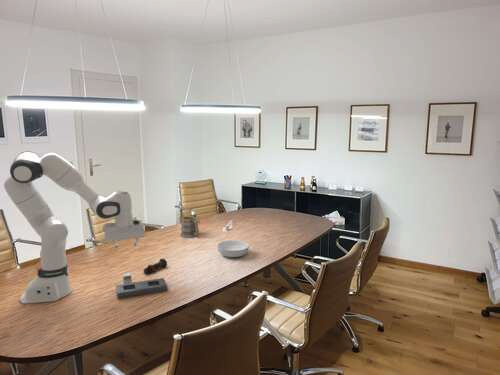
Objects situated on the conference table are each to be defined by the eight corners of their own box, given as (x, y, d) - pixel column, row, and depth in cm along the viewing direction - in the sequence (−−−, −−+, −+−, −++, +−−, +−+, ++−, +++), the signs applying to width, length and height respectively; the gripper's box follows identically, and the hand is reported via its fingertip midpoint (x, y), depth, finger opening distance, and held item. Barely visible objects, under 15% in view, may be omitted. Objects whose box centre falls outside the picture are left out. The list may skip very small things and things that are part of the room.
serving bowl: (223, 262, 229) (223, 252, 227) (213, 252, 247) (212, 242, 246) (254, 257, 237) (254, 247, 236) (241, 248, 256) (241, 238, 255)
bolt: (144, 277, 210) (163, 268, 223) (149, 275, 207) (168, 265, 220) (140, 268, 211) (159, 259, 223) (145, 265, 208) (164, 257, 220)
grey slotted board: (117, 299, 180) (117, 293, 179) (116, 290, 189) (116, 285, 188) (167, 290, 189) (167, 285, 188) (163, 283, 198) (163, 277, 197)
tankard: (177, 235, 286) (177, 216, 283) (191, 232, 294) (190, 214, 292) (192, 241, 271) (191, 221, 269) (206, 237, 280) (205, 218, 277)
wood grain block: (123, 285, 195) (123, 276, 194) (123, 282, 199) (122, 273, 198) (131, 284, 197) (131, 275, 196) (130, 281, 200) (130, 272, 200)
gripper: (102, 225, 186) (104, 251, 188) (144, 220, 193) (146, 246, 195) (102, 222, 191) (104, 247, 194) (143, 218, 199) (144, 242, 201)
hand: (125, 246), depth 195 cm, fingers open, 8 cm apart
